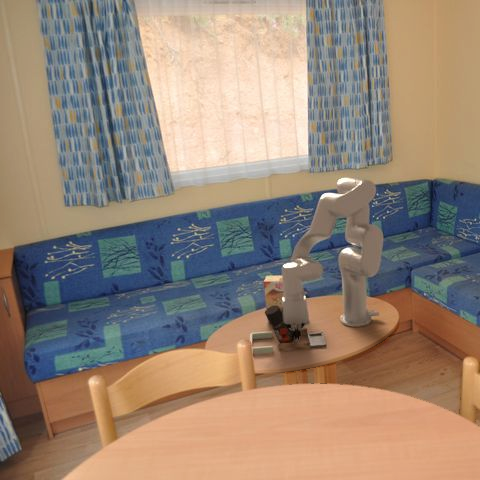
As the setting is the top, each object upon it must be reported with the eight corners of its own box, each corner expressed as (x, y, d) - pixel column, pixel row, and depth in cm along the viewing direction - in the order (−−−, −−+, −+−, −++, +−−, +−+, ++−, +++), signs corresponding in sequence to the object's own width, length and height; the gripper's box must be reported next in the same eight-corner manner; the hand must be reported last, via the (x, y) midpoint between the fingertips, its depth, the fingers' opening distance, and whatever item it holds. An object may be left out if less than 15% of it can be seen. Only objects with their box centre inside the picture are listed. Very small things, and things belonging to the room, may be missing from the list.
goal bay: (272, 336, 188) (272, 331, 187) (273, 352, 176) (273, 346, 175) (250, 338, 188) (250, 332, 188) (250, 354, 176) (249, 348, 175)
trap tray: (322, 334, 185) (322, 332, 185) (326, 346, 175) (326, 344, 175) (307, 335, 185) (307, 333, 185) (310, 348, 176) (310, 345, 176)
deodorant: (295, 335, 182) (280, 303, 178) (292, 344, 177) (277, 312, 173) (281, 338, 185) (266, 307, 181) (279, 347, 180) (263, 315, 175)
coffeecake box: (267, 323, 200) (263, 281, 194) (269, 315, 206) (266, 275, 201) (302, 323, 196) (298, 280, 191) (303, 315, 203) (300, 274, 198)
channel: (307, 334, 186) (307, 327, 185) (310, 349, 175) (310, 342, 174) (277, 336, 187) (277, 330, 186) (279, 351, 176) (278, 344, 175)
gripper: (312, 289, 178) (314, 332, 184) (273, 292, 179) (277, 335, 184) (314, 297, 171) (317, 341, 176) (274, 300, 172) (278, 344, 177)
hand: (297, 338), depth 180 cm, fingers closed
